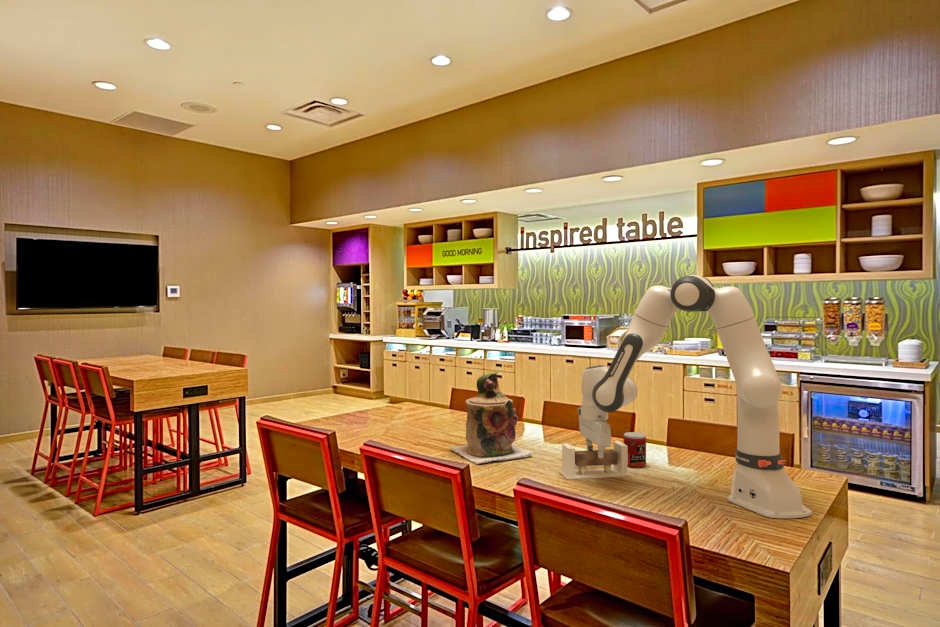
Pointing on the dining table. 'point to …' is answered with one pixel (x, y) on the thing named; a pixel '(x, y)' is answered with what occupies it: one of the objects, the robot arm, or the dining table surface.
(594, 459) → the brown rectangular bar
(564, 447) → the peg frame
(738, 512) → the dining table surface
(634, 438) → the canned food
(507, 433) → the cookie jar
